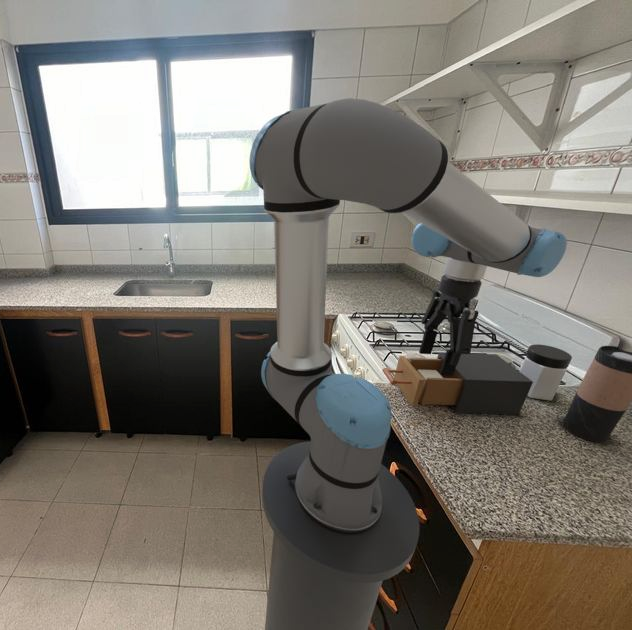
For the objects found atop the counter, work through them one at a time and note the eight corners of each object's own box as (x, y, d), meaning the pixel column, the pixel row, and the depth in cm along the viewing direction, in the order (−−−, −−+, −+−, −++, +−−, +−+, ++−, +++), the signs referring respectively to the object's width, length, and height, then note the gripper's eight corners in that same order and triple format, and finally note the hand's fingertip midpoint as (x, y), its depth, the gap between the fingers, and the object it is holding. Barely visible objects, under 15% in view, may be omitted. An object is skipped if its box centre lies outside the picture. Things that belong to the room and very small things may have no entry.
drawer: (391, 405, 86) (398, 379, 83) (375, 379, 96) (380, 355, 93) (469, 408, 84) (478, 381, 81) (444, 381, 95) (451, 357, 92)
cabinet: (455, 412, 84) (466, 379, 81) (429, 382, 96) (438, 352, 92) (518, 414, 83) (533, 381, 79) (485, 384, 95) (496, 354, 91)
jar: (516, 378, 97) (531, 340, 93) (555, 390, 92) (573, 351, 87) (510, 391, 92) (526, 352, 87) (551, 405, 86) (570, 364, 82)
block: (421, 394, 88) (426, 379, 86) (413, 383, 92) (417, 369, 90) (440, 395, 87) (445, 380, 86) (431, 384, 92) (435, 369, 90)
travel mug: (579, 441, 75) (622, 362, 67) (552, 417, 82) (588, 344, 74) (619, 444, 74) (667, 365, 66) (588, 420, 81) (629, 346, 73)
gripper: (515, 294, 67) (478, 390, 76) (451, 264, 87) (428, 343, 96) (475, 293, 67) (443, 388, 76) (420, 263, 87) (400, 342, 96)
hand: (434, 363), depth 86 cm, fingers open, 9 cm apart
